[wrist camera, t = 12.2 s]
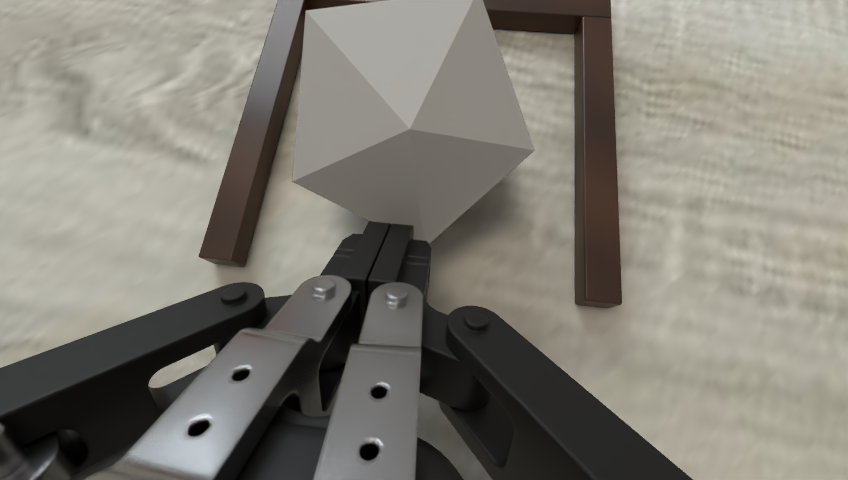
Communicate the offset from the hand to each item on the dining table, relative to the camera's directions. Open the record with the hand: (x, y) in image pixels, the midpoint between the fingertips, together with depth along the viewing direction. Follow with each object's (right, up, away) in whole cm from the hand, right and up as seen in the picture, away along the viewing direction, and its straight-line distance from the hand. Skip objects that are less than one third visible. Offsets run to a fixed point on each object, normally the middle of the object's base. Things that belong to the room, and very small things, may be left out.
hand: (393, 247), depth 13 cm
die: (+1, +4, +6) cm, 7 cm away
